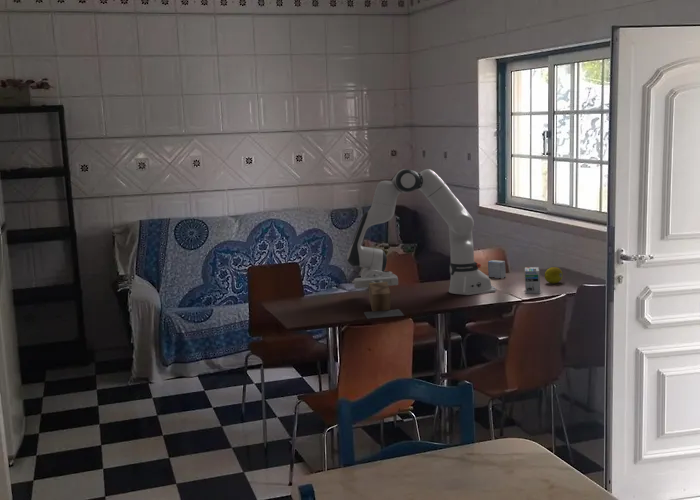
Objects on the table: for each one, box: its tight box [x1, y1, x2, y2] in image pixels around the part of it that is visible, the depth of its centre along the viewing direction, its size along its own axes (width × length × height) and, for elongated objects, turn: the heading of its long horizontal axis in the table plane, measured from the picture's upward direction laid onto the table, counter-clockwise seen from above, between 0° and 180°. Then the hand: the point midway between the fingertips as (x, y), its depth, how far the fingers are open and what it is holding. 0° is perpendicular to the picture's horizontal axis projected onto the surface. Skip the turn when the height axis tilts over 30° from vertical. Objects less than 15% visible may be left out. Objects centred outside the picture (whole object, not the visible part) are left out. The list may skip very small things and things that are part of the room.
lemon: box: [544, 266, 564, 285], centre depth 381 cm, size 11×8×8 cm
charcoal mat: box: [363, 308, 405, 320], centre depth 338 cm, size 16×12×1 cm
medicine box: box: [487, 259, 507, 279], centre depth 403 cm, size 8×4×9 cm, turn 47°
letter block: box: [368, 282, 392, 312], centre depth 346 cm, size 8×9×9 cm
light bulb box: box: [524, 266, 541, 295], centre depth 365 cm, size 11×7×11 cm, turn 169°
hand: (378, 284), depth 348 cm, fingers closed, pressing on letter block
